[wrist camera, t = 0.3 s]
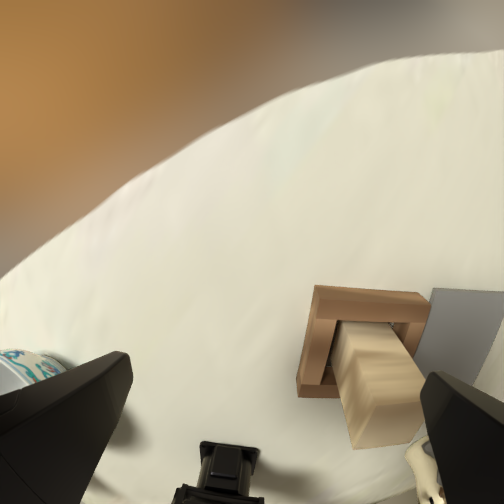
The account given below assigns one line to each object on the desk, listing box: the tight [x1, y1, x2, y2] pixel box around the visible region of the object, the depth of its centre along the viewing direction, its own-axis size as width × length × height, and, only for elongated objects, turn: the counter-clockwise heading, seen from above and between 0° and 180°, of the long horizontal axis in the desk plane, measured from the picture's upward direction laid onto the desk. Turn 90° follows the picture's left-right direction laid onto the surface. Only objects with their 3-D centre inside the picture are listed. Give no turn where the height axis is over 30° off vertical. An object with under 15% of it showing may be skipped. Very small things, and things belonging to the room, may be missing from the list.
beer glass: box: [405, 435, 447, 504], centre depth 19 cm, size 7×7×15 cm
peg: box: [330, 320, 425, 450], centre depth 17 cm, size 4×4×10 cm
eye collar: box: [296, 285, 431, 398], centre depth 21 cm, size 9×9×2 cm
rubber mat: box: [413, 288, 504, 386], centre depth 22 cm, size 14×11×1 cm
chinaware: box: [0, 349, 67, 395], centre depth 23 cm, size 15×15×8 cm
